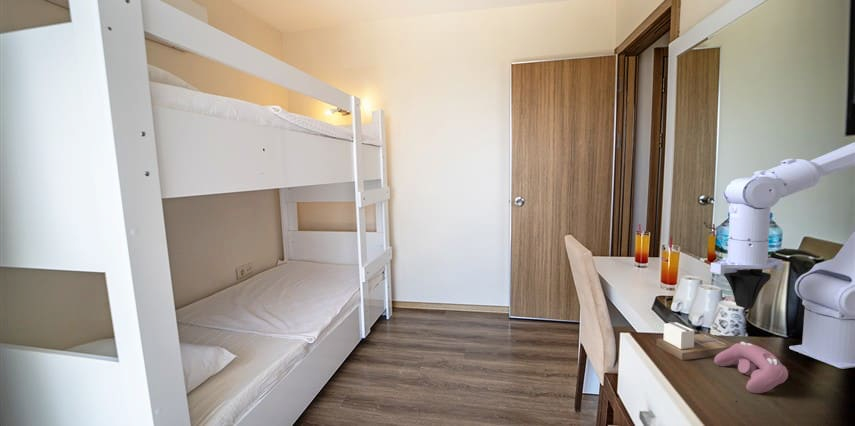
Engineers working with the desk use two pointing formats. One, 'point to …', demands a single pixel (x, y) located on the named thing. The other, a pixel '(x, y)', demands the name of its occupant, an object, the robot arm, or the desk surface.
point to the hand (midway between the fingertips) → (744, 306)
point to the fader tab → (679, 335)
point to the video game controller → (754, 366)
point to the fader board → (697, 347)
